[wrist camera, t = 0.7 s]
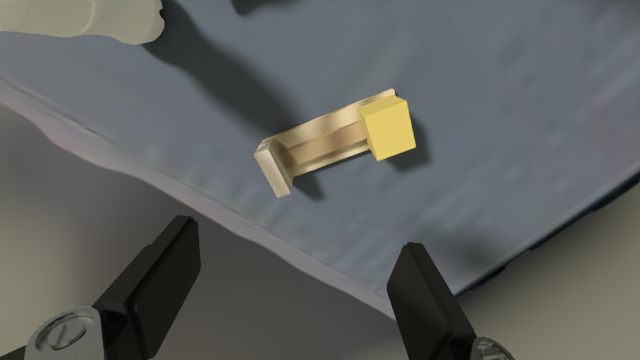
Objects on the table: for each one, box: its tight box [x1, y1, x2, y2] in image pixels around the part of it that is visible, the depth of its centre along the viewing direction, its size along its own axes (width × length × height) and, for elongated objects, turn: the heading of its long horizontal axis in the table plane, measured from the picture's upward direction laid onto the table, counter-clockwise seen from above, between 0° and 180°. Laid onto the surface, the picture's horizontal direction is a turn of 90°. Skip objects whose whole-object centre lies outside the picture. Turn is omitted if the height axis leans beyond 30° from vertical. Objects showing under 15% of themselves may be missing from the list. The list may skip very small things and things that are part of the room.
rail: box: [254, 88, 395, 198], centre depth 33 cm, size 20×7×6 cm, turn 111°
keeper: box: [357, 95, 416, 161], centre depth 31 cm, size 5×6×6 cm
